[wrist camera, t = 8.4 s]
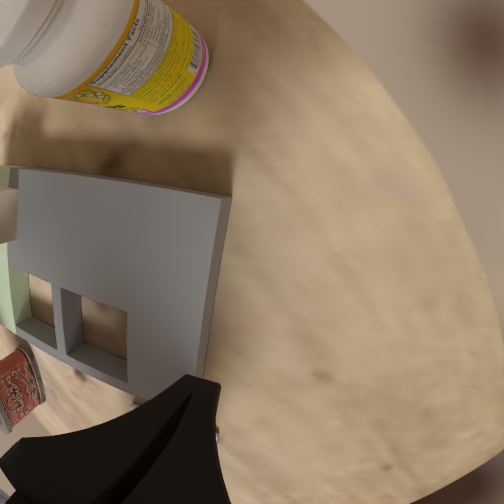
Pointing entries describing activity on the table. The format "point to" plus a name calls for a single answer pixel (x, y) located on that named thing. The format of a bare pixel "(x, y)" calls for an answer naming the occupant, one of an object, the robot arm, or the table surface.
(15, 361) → the ornate red tin
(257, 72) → the table surface
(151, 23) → the supplement bottle
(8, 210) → the block
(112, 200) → the grey divided tray
